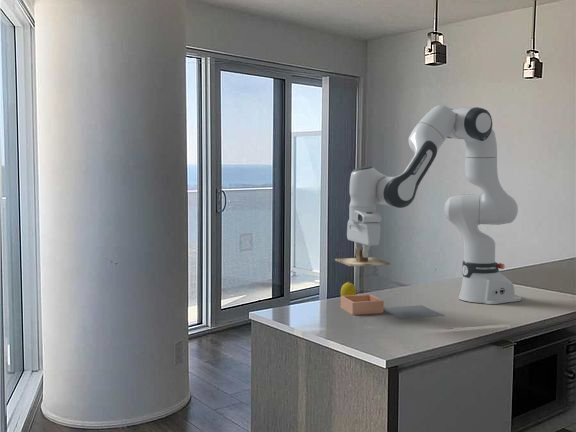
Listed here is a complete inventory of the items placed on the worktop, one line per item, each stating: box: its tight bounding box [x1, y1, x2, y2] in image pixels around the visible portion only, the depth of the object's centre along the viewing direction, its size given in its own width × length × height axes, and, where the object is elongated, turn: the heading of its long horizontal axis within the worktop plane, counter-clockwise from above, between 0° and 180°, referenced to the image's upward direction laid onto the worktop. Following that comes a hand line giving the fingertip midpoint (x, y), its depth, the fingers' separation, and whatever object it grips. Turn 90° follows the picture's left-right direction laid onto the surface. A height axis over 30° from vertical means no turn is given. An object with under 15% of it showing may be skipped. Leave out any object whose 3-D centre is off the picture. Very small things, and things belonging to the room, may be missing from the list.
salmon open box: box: [340, 293, 385, 316], centre depth 211 cm, size 11×11×5 cm
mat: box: [383, 304, 446, 320], centre depth 209 cm, size 16×16×1 cm
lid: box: [334, 247, 391, 267], centre depth 210 cm, size 14×14×5 cm
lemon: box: [340, 281, 357, 297], centre depth 226 cm, size 6×6×8 cm
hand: (362, 256), depth 210 cm, fingers closed on lid, 3 cm apart
